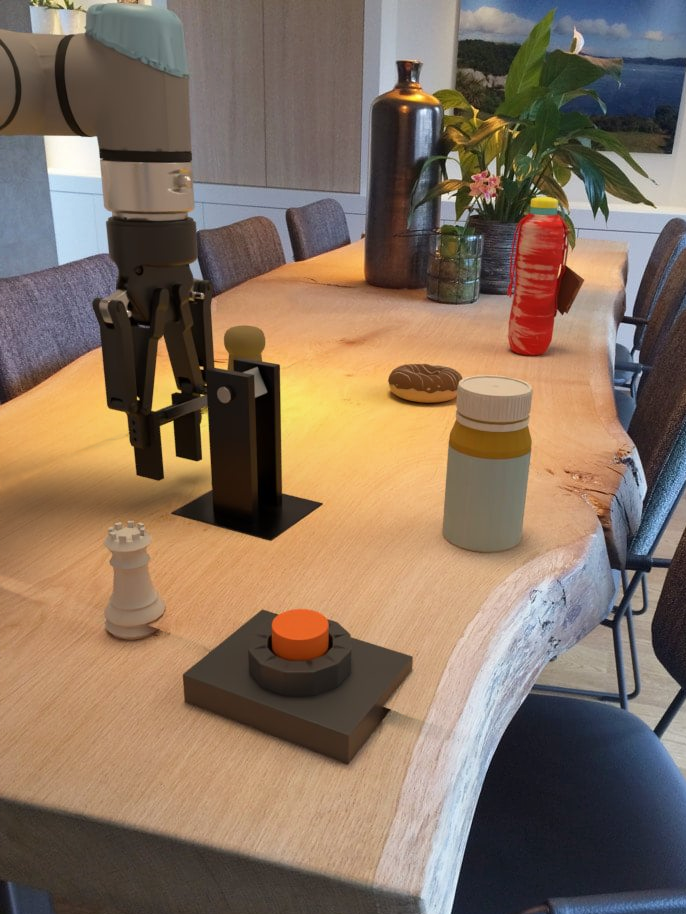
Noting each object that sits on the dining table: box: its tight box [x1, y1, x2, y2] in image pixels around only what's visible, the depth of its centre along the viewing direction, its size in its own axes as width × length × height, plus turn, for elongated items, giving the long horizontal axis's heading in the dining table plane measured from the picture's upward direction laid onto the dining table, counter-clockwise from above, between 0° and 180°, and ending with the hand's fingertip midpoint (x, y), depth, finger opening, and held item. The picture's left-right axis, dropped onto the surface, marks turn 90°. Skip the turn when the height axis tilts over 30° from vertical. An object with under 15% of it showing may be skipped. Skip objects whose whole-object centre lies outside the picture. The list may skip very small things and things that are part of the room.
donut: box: [387, 363, 463, 404], centre depth 116 cm, size 11×11×4 cm
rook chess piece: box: [103, 520, 166, 641], centre depth 60 cm, size 4×4×8 cm
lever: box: [155, 367, 267, 427], centre depth 75 cm, size 12×5×2 cm, turn 63°
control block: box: [182, 609, 414, 765], centre depth 54 cm, size 12×9×4 cm
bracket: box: [170, 358, 324, 542], centre depth 75 cm, size 11×9×15 cm
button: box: [272, 608, 329, 661], centre depth 53 cm, size 4×4×2 cm
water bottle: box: [506, 196, 585, 356], centre depth 137 cm, size 12×8×25 cm, turn 91°
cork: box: [223, 324, 266, 371], centre depth 106 cm, size 6×6×11 cm
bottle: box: [441, 374, 534, 554], centre depth 72 cm, size 7×7×15 cm
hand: (170, 466), depth 80 cm, fingers closed on lever, 5 cm apart
